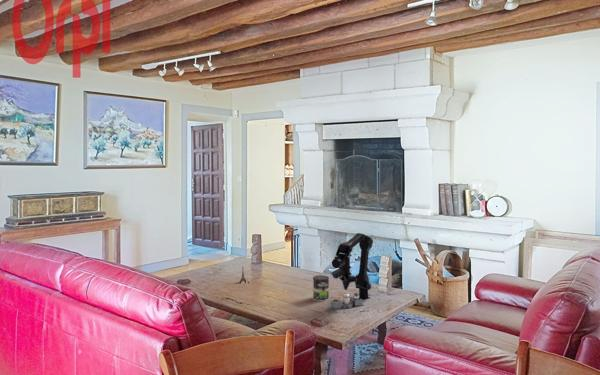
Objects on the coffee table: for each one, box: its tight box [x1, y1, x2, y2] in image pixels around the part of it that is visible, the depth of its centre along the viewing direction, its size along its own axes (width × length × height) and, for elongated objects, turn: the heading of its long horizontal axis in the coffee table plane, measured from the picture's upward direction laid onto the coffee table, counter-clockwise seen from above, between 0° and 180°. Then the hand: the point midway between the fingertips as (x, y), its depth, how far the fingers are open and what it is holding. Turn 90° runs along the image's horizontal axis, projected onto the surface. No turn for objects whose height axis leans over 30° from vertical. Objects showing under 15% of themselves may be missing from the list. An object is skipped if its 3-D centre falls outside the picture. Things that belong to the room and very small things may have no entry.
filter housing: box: [328, 297, 365, 311], centre depth 278 cm, size 8×21×4 cm, turn 112°
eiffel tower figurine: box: [239, 266, 247, 285], centre depth 332 cm, size 15×10×13 cm
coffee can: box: [312, 274, 330, 302], centre depth 293 cm, size 10×10×14 cm
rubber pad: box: [325, 309, 339, 315], centre depth 268 cm, size 6×6×1 cm
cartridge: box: [342, 293, 351, 305], centre depth 278 cm, size 4×4×7 cm
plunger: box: [353, 292, 359, 300], centre depth 280 cm, size 3×3×4 cm
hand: (345, 289), depth 277 cm, fingers closed
